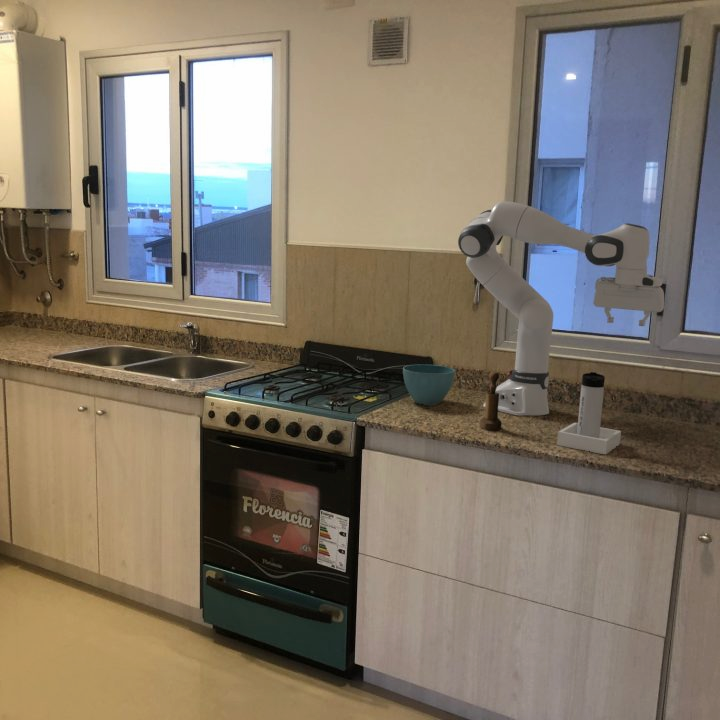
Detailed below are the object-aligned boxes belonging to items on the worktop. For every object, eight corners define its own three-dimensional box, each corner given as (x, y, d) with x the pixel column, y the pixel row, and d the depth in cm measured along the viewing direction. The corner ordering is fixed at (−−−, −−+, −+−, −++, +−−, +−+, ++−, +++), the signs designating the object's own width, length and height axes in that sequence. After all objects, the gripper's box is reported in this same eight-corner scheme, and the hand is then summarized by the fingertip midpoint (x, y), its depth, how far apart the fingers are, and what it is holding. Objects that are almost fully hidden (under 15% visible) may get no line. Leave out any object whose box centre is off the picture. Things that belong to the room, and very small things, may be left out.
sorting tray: (556, 444, 215) (558, 431, 214) (573, 435, 226) (574, 422, 225) (605, 454, 207) (606, 440, 206) (619, 444, 218) (621, 431, 217)
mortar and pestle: (475, 427, 231) (479, 370, 228) (487, 424, 235) (491, 368, 232) (493, 431, 226) (497, 374, 223) (505, 428, 231) (509, 371, 228)
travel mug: (598, 439, 219) (604, 373, 215) (599, 445, 212) (605, 377, 209) (576, 437, 220) (582, 371, 217) (576, 442, 214) (582, 375, 210)
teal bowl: (390, 401, 262) (392, 367, 260) (425, 394, 274) (427, 362, 272) (428, 411, 249) (430, 375, 247) (463, 404, 261) (465, 370, 259)
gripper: (592, 276, 226) (588, 321, 228) (663, 281, 214) (657, 328, 216) (599, 276, 231) (595, 320, 233) (668, 280, 219) (663, 327, 222)
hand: (625, 324), depth 225 cm, fingers open, 8 cm apart
